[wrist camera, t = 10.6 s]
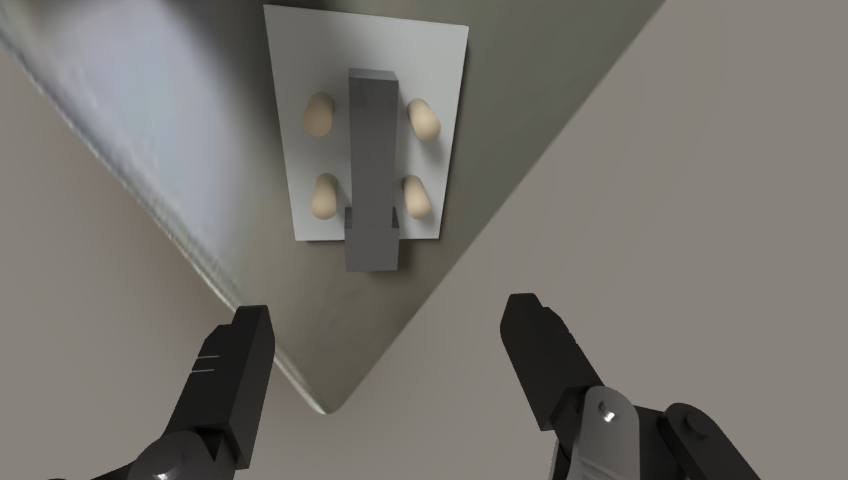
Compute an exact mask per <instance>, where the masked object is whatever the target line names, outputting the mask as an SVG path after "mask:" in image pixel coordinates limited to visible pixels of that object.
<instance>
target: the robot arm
mask: <svg viewBox="0 0 848 480" xmlns="http://www.w3.org/2000/svg"><path fill="white" fill-rule="evenodd" d="M500 333H501V338H502V341H503V344H504V346H505V348H506V351H507V353H508V355H509V358H510V360H511V362H512V364H513V367H514V369H515V372H516V374H517V376H518V379H519V381H520V383H521V386H522V388H523V390H524V393H525V395H526V397H527V400H528V402H529V404H530V407H531V409H532V411H533V414H534V416H535V418H536V421H537V422H538V425H539V427H540V430H541V431H548V430H554V431H555V433H556V435H557V437H558V439H557V440H556V443H555V447H554V453H553V458H552V463H551V468H550V473H549V479H548V480H761V479H760V478H759V477H758V476H757V474H756V473H755V472H754V471H753V470H752V468H751V467H750V466H749V464H748V463H747V462H746V461H745V459H744V458H743V457H742V455H741V454H740V453H739V452H738V450H737V449H736V448H735V447H734V445H733V444H732V443H731V442H730V440H729V439H728V438H727V437H726V435H725V434H724V433H723V431H722V430H721V429H720V428H719V426H717V424H716V423H715V422H714V421H713V420H712V419H711V418H710V417H709V416H707V415H706V414H705V413H704V412H702V411H701V410H699V409H697V408H695V407H693V406H691V405H688V404H684V403H674V404H672V405H670V406H669V407H668V408H667V410H666V411H665V412H661V411H657V410H652V409H648V408H643V407H639V406H635V405H632V404H631V403H630V401H629V400H628V399H627V398H626V397H625V396H623V395H622V394H621V393H619V392H618V391H616V390H614V389H612V388H609V387H606V386H605V385H604V384H603V383H602V381H601V380H600V378H599V376H598V375H597V373H596V372H595V370H594V369H593V367H592V366H591V364H590V362H589V361H588V359H587V358H586V356H585V355H584V353H583V352H582V350H581V348H580V347H579V345H578V344H576V342H575V339H574V338H573V336H572V334H571V333H569V330H568V328H567V327H566V325H565V324H564V322H563V320H562V319H561V318H560V317H559V316H558V315H557V314H556V313H555V312H553V311H552V310H551V309H550V308H549V307H542V305H541V303H540V302H539V300H538V298H537V297H536V295H535V294H533V293H520V294H511V295H510V297H509V299H508V302H507V305H506V308H505V311H504V314H503V317H502V320H501V324H500ZM274 353H275V337H274V333H273V328H272V324H271V319H270V315H269V311H268V307H267V305H253V306H239V307H238V309H237V310H236V313H235V316H234V318H233V321H232V324H227V325H218V326H217V328H216V329H215V330H214V331H213V332H212V333H211V334H210V335H209V336H208V337H207V338H206V339H205V341H204V343H203V345H202V348H201V350H200V352H199V354H198V359H197V360H196V361H195V364H194V366H193V368H192V373H191V374H190V375H189V377H188V380H187V382H186V384H185V387H184V389H183V391H182V394H181V396H180V398H179V400H178V402H177V405H176V407H175V410H174V412H173V414H172V416H171V418H170V421H169V423H168V426H167V427H166V429H165V431H164V433H163V435H162V436H161V437H160V438H159V439H158V440H156V441H155V442H153V443H152V444H151V445H149V446H148V447H147V448H146V449H145V450H144V451H143V452H142V453H141V454H140V455H139V456H138V458H137V459H136V460H135V461H133V462H131V463H129V464H128V465H125V466H123V467H121V468H119V469H116V470H114V471H111V472H109V473H107V474H104V475H101V476H99V477H96V478H94V479H91V480H233V478H234V474H235V470H241V469H248V468H249V466H250V461H251V456H252V452H253V448H254V443H255V439H256V434H257V430H258V426H259V421H260V417H261V412H262V408H263V403H264V399H265V394H266V390H267V385H268V381H269V377H270V372H271V368H272V363H273V359H274ZM49 480H65V479H58V478H57V479H49Z"/></svg>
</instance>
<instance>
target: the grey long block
mask: <svg viewBox="0 0 848 480" xmlns="http://www.w3.org/2000/svg"><path fill="white" fill-rule="evenodd" d="M348 78H349V113H350V149H351V184H352V207H345V221H344V236H345V258H346V272H364V271H392V270H397V265H398V250H399V234H400V227H399V222H398V217H397V212H396V207H393V191H394V170H395V149H396V128H397V107H398V86H399V80H398V78H397V77H396V75H395V73H394V71H384V70H371V69H358V68H349V77H348Z"/></svg>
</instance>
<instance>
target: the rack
mask: <svg viewBox="0 0 848 480" xmlns="http://www.w3.org/2000/svg"><path fill="white" fill-rule="evenodd" d="M263 7H264V14H265V21H266V29H267V36H268V43H269V50H270V57H271V65H272V72H273V79H274V86H275V94H276V101H277V108H278V115H279V122H280V130H281V137H282V144H283V151H284V159H285V166H286V173H287V180H288V188H289V195H290V202H291V209H292V216H293V224H294V231H295V238H296V241H305V240H345V236H344V221H345V207H352V184H351V149H350V113H349V78H348V77H349V68H358V69H371V70H384V71H394V73H395V75H396V77H397V78H398V80H399V86H398V107H397V128H396V149H395V170H394V191H393V207H396V212H397V217H398V222H399V227H400V234H399V239H430V238H439V231H440V224H441V217H442V210H443V203H444V196H445V189H446V182H447V175H448V168H449V161H450V154H451V148H452V141H453V134H454V127H455V120H456V113H457V106H458V99H459V92H460V85H461V78H462V71H463V64H464V58H465V51H466V44H467V37H468V30H469V27H467V26H463V25H454V24H445V23H436V22H427V21H418V20H409V19H399V18H390V17H381V16H372V15H363V14H353V13H344V12H335V11H326V10H317V9H307V8H298V7H289V6H280V5H271V4H264V5H263Z"/></svg>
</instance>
